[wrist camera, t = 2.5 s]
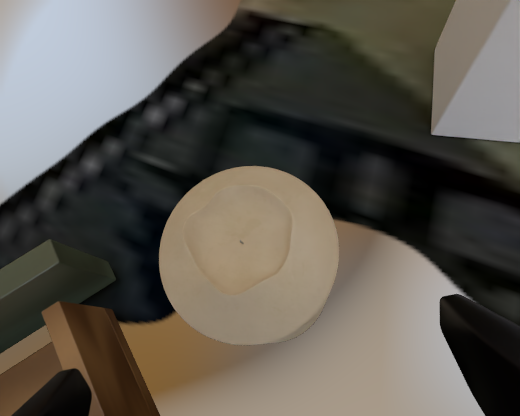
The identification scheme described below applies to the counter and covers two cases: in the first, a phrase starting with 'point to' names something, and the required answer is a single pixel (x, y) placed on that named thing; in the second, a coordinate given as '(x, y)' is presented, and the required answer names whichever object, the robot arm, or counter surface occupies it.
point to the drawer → (67, 332)
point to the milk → (478, 72)
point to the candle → (249, 256)
